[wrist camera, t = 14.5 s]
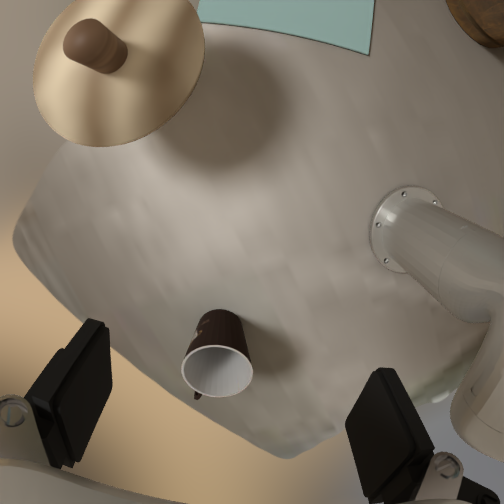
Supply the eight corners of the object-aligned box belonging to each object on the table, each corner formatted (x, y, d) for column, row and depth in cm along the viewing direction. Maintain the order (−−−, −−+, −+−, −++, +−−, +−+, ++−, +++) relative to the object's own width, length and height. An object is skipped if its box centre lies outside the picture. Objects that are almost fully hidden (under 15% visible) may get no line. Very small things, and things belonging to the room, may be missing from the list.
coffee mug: (223, 291, 44) (220, 332, 35) (261, 331, 47) (267, 376, 37) (164, 333, 46) (150, 377, 37) (202, 368, 49) (197, 414, 39)
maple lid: (219, -16, 22) (218, -54, 15) (190, 152, 27) (178, 156, 21) (59, -7, 20) (26, -31, 13) (30, 145, 25) (-13, 151, 18)
